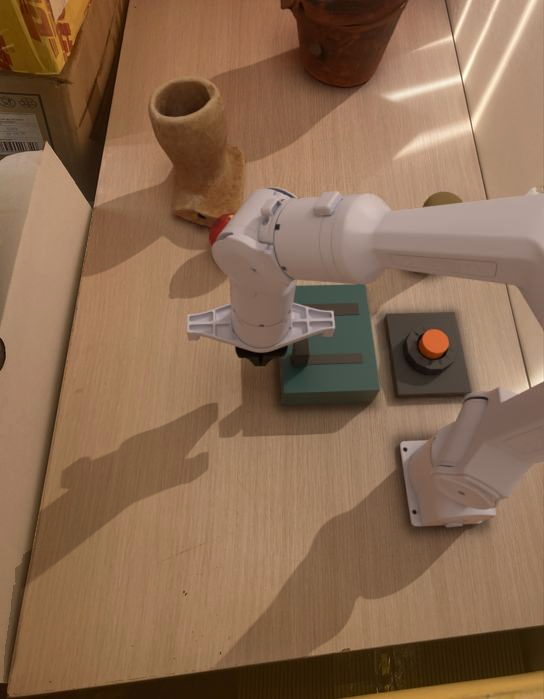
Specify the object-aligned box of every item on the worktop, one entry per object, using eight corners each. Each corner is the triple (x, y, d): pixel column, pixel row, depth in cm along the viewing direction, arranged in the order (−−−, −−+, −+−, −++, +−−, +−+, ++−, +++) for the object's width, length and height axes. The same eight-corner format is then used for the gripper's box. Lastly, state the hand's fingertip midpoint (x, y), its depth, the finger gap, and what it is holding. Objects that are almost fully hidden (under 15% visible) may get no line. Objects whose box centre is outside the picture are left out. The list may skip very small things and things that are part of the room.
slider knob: (306, 367, 62) (309, 354, 58) (292, 367, 61) (295, 355, 58) (305, 351, 62) (308, 338, 59) (291, 351, 62) (294, 338, 59)
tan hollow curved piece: (171, 146, 81) (155, 55, 67) (250, 154, 81) (250, 64, 67) (152, 228, 74) (130, 146, 61) (238, 236, 74) (235, 157, 61)
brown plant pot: (278, 21, 93) (284, -100, 77) (393, 28, 94) (423, -91, 77) (274, 95, 86) (280, -22, 69) (399, 102, 86) (433, -12, 70)
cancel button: (446, 358, 65) (451, 352, 63) (420, 359, 65) (424, 353, 63) (441, 334, 66) (446, 328, 65) (416, 335, 66) (420, 329, 65)
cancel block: (468, 395, 66) (477, 387, 63) (395, 398, 65) (402, 389, 63) (451, 316, 70) (459, 305, 68) (383, 317, 70) (389, 306, 67)
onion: (203, 259, 73) (197, 223, 65) (224, 229, 75) (221, 190, 67) (240, 277, 72) (239, 242, 64) (261, 246, 74) (262, 208, 67)
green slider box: (372, 402, 65) (380, 389, 61) (281, 405, 64) (283, 392, 60) (358, 301, 71) (365, 283, 67) (275, 303, 70) (277, 285, 66)
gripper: (337, 260, 51) (319, 325, 63) (182, 263, 50) (195, 328, 62) (344, 327, 48) (325, 381, 60) (180, 331, 47) (195, 385, 59)
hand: (259, 358), depth 61 cm, fingers closed
